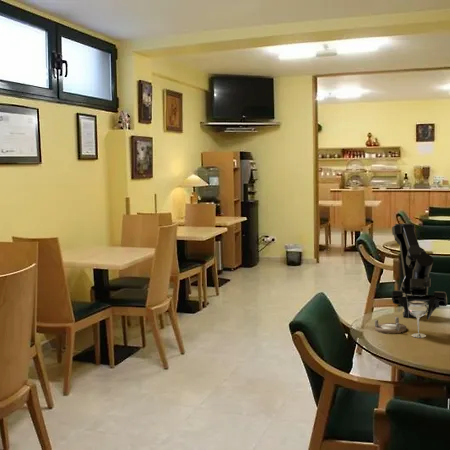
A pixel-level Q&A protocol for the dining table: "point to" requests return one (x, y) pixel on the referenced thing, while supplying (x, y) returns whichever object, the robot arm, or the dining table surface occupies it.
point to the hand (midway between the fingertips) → (417, 318)
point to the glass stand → (390, 327)
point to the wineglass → (418, 313)
